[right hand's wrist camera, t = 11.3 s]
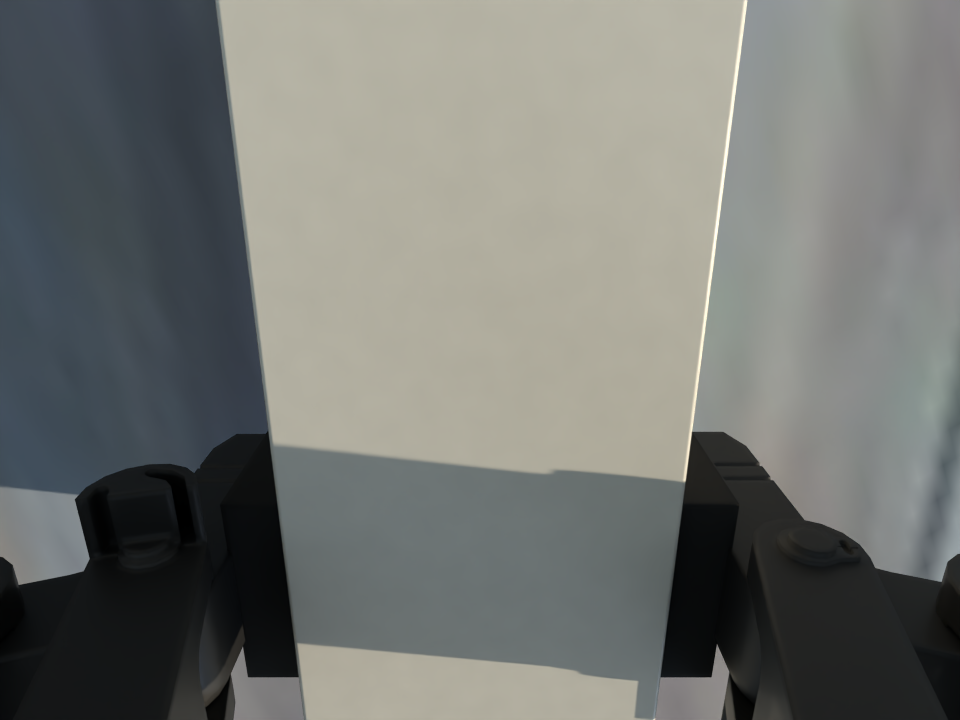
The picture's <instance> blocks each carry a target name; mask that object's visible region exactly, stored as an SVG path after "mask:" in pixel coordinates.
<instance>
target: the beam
mask: <svg viewBox="0 0 960 720" xmlns="http://www.w3.org/2000/svg"><path fill="white" fill-rule="evenodd" d="M215 3H216V11H217V19H218V27H219V35H220V43H221V51H222V59H223V68H224V76H225V84H226V92H227V100H228V108H229V116H230V124H231V132H232V140H233V148H234V157H235V165H236V173H237V181H238V189H239V197H240V205H241V213H242V221H243V229H244V237H245V246H246V254H247V262H248V270H249V278H250V286H251V294H252V302H253V310H254V318H255V326H256V335H257V343H258V351H259V359H260V367H261V375H262V383H263V391H264V399H265V407H266V415H267V424H268V432H269V440H270V448H271V456H272V464H273V472H274V480H275V488H276V496H277V504H278V513H279V521H280V529H281V537H282V545H283V553H284V561H285V569H286V577H287V585H288V593H289V602H290V610H291V618H292V626H293V634H294V642H295V650H296V658H297V666H298V674H299V683H300V691H301V699H302V707H303V715H304V720H655V716H656V708H657V700H658V692H659V685H660V677H661V669H662V661H663V653H664V646H665V638H666V630H667V622H668V614H669V607H670V599H671V591H672V583H673V575H674V568H675V560H676V552H677V544H678V537H679V529H680V521H681V513H682V505H683V498H684V490H685V482H686V474H687V466H688V459H689V451H690V443H691V435H692V427H693V420H694V412H695V404H696V396H697V388H698V381H699V373H700V365H701V357H702V350H703V342H704V334H705V326H706V318H707V311H708V303H709V295H710V287H711V279H712V272H713V264H714V256H715V248H716V240H717V233H718V225H719V217H720V209H721V201H722V194H723V186H724V178H725V170H726V162H727V155H728V147H729V139H730V131H731V124H732V116H733V108H734V100H735V92H736V85H737V77H738V69H739V61H740V53H741V46H742V38H743V30H744V22H745V14H746V7H747V0H215Z"/></svg>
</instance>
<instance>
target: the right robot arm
mask: <svg viewBox="0 0 960 720" xmlns="http://www.w3.org/2000/svg"><path fill="white" fill-rule="evenodd" d="M200 466H201V467H200V469H197V470H196V472H195V473H193V472H192V471H190V470H189V469H188V468H186V467H182V466H177V465H172V464H149V465H144V466H139V467H134V468H128V469H125V470H122V471H119V472H116V473H114V474H111V475H108V476H105V477H103V478H102V479H100V480H98V481H96V482H95V483H93V484H91V485H90V486H88V487H86V488H85V489H84V490H83V491H82V492H81V494H80V495H79V496H78V497H77V498H76V499H75V502H76V506H77V510H78V514H79V518H80V522H81V525H82V529H83V533H84V537H85V541H86V545H87V549H88V553H89V557H90V560H89V562H88V564H87V566H86V568H85V570H84V571H83V572H79V573H76V574H72V575H67V576H62V577H57V578H52V579H47V580H42V581H37V582H32V583H27V584H22V585H18V581H17V578H16V575H15V571H14V568H13V565H12V564H11V563H9V562H8V561H7V560H5V559H4V558H3V557H0V720H233V718H234V710H235V697H234V690H233V684H232V678H231V672H232V670H233V667H234V665H235V663H236V661H237V658H238V656H239V654H240V651H241V649H242V647H243V649H244V655H245V661H246V667H247V674H248V677H299V674H298V666H297V658H296V650H295V642H294V634H293V626H292V618H291V610H290V602H289V593H288V585H287V577H286V569H285V561H284V553H283V545H282V537H281V529H280V521H279V513H278V504H277V496H276V488H275V480H274V472H273V464H272V456H271V448H270V440H269V432H267V433H266V434H236V435H234V436H233V437H231V438H230V439H228V440H226V441H225V442H223V443H222V444H220V445H218V446H217V447H215V448H214V449H213V450H212V451H211V452H210V454H209V455H208V456H207V458H206V459H205V460H204V461H203V463H202V464H201V465H200ZM717 645H718V647H719V649H720V651H721V654H722V656H723V658H724V660H725V663H726V665H727V667H728V669H729V678H728V684H727V689H726V695H725V701H724V707H723V712H722V718H721V720H960V554H957V555H956V556H955V557H953V558H952V559H951V560H950V561H948V563H947V566H946V570H945V573H944V576H943V579H942V582H938V581H933V580H928V579H923V578H918V577H913V576H907V575H902V574H897V573H892V572H888V571H884V570H880V569H876V568H875V567H874V565H873V563H872V561H871V558H870V557H869V556H868V555H867V553H866V552H865V551H864V549H863V548H862V547H861V546H860V545H859V544H858V543H856V542H855V541H854V540H852V539H851V538H849V537H848V536H846V535H845V534H843V533H842V532H839V531H837V530H834V529H832V528H830V527H827V526H825V525H822V524H819V523H814V522H810V521H806V520H804V519H803V518H802V516H801V515H800V514H799V513H798V511H797V510H796V509H795V508H794V506H793V505H792V504H791V502H790V501H789V500H788V499H787V497H786V496H785V495H784V494H783V492H782V491H781V490H780V488H779V487H778V486H777V485H776V483H775V482H774V481H773V480H770V476H769V474H768V473H767V472H766V471H765V469H764V468H763V467H762V466H759V462H758V461H757V459H756V458H755V457H754V455H753V454H752V453H751V452H750V450H749V449H748V448H747V447H746V446H745V445H743V444H742V443H740V442H739V441H737V440H735V439H734V438H732V437H730V436H729V435H727V434H726V433H724V432H692V435H691V443H690V451H689V459H688V466H687V474H686V482H685V490H684V498H683V505H682V513H681V521H680V529H679V537H678V544H677V552H676V560H675V568H674V575H673V583H672V591H671V599H670V607H669V614H668V622H667V630H666V638H665V646H664V653H663V661H662V669H661V677H712V671H713V665H714V658H715V652H716V646H717Z"/></svg>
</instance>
